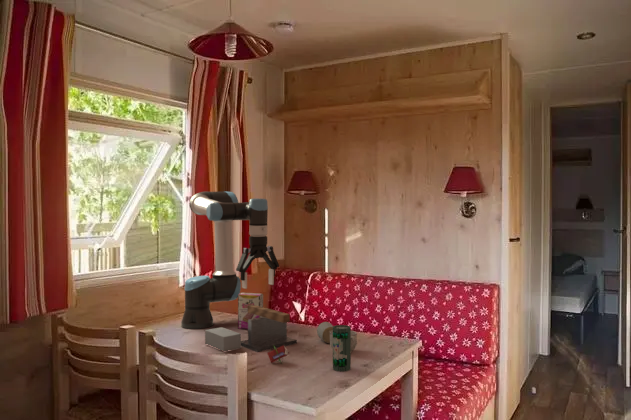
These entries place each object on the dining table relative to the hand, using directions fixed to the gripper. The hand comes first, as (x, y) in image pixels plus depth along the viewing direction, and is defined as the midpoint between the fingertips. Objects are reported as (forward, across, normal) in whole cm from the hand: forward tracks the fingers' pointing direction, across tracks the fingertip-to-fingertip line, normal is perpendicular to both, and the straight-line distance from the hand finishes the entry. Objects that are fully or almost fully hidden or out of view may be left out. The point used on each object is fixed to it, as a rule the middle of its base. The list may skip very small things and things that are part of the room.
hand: (258, 286), depth 223 cm
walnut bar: (+13, +3, -3) cm, 13 cm away
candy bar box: (+25, +14, +25) cm, 38 cm away
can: (+23, +3, -47) cm, 53 cm away
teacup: (+24, +18, -33) cm, 45 cm away
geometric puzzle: (+24, -10, -26) cm, 37 cm away
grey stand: (+24, -13, +7) cm, 28 cm away
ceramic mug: (+24, +26, -17) cm, 40 cm away
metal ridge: (+24, +3, -3) cm, 25 cm away
